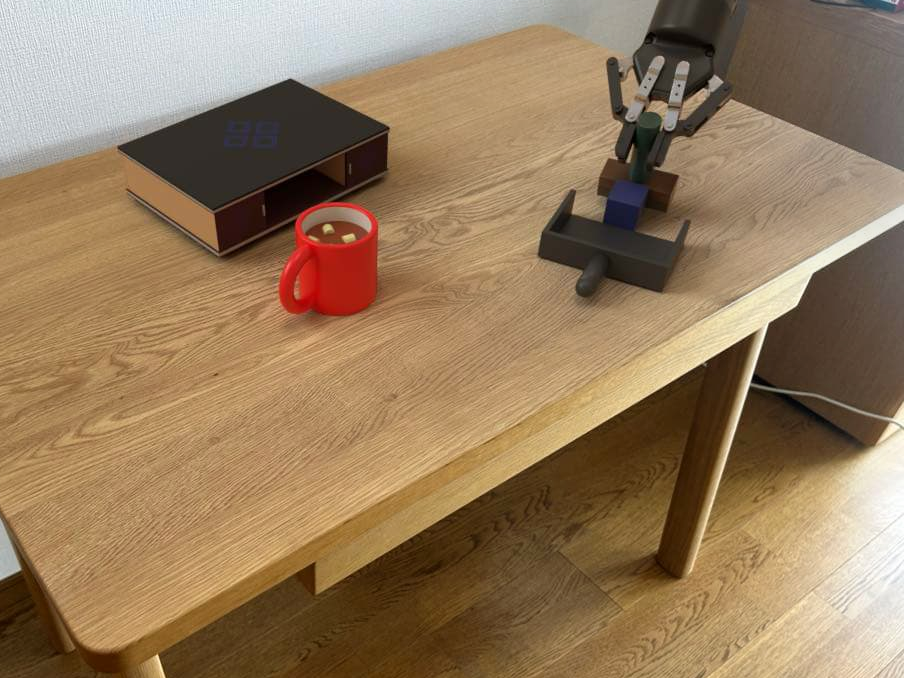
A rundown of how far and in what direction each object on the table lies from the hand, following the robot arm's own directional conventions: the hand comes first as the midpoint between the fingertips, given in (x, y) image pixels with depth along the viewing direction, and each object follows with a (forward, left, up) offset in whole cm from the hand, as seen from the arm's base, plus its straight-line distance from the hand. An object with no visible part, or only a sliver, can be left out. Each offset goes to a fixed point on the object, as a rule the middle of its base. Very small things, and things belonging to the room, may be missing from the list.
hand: (635, 164), depth 91 cm
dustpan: (+1, +8, -8) cm, 11 cm away
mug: (+26, +24, -8) cm, 36 cm away
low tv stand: (+41, +7, -8) cm, 42 cm away
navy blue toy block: (0, -2, -7) cm, 8 cm away
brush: (-1, -5, -6) cm, 8 cm away
